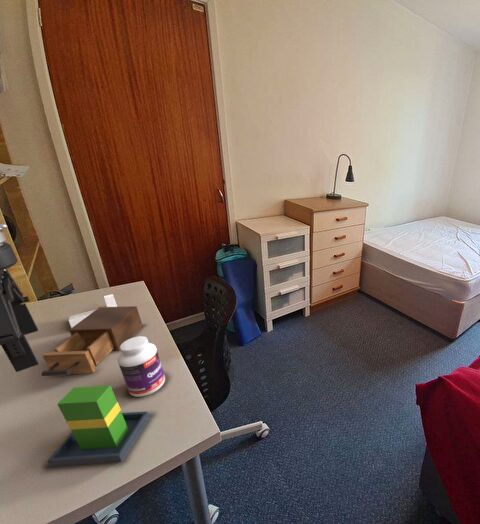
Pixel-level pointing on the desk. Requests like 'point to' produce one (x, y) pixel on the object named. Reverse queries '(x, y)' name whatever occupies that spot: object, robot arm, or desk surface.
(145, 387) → the pill bottle
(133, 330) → the cabinet
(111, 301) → the bracket
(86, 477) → the desk surface
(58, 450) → the tray
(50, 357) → the drawer
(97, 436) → the yellow-banded green block
